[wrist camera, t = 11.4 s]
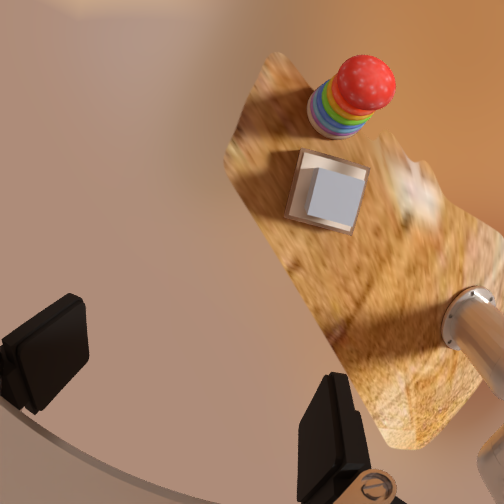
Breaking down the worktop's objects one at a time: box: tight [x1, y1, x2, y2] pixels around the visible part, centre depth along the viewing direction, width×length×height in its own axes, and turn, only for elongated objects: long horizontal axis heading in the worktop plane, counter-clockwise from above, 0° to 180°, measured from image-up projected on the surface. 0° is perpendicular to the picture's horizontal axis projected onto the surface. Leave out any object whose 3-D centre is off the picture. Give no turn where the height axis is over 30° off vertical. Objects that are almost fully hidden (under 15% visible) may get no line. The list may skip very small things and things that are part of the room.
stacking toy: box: [307, 55, 396, 140], centre depth 26 cm, size 8×8×19 cm
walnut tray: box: [284, 148, 370, 236], centre depth 36 cm, size 9×9×4 cm
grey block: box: [304, 168, 365, 227], centre depth 32 cm, size 5×5×6 cm
